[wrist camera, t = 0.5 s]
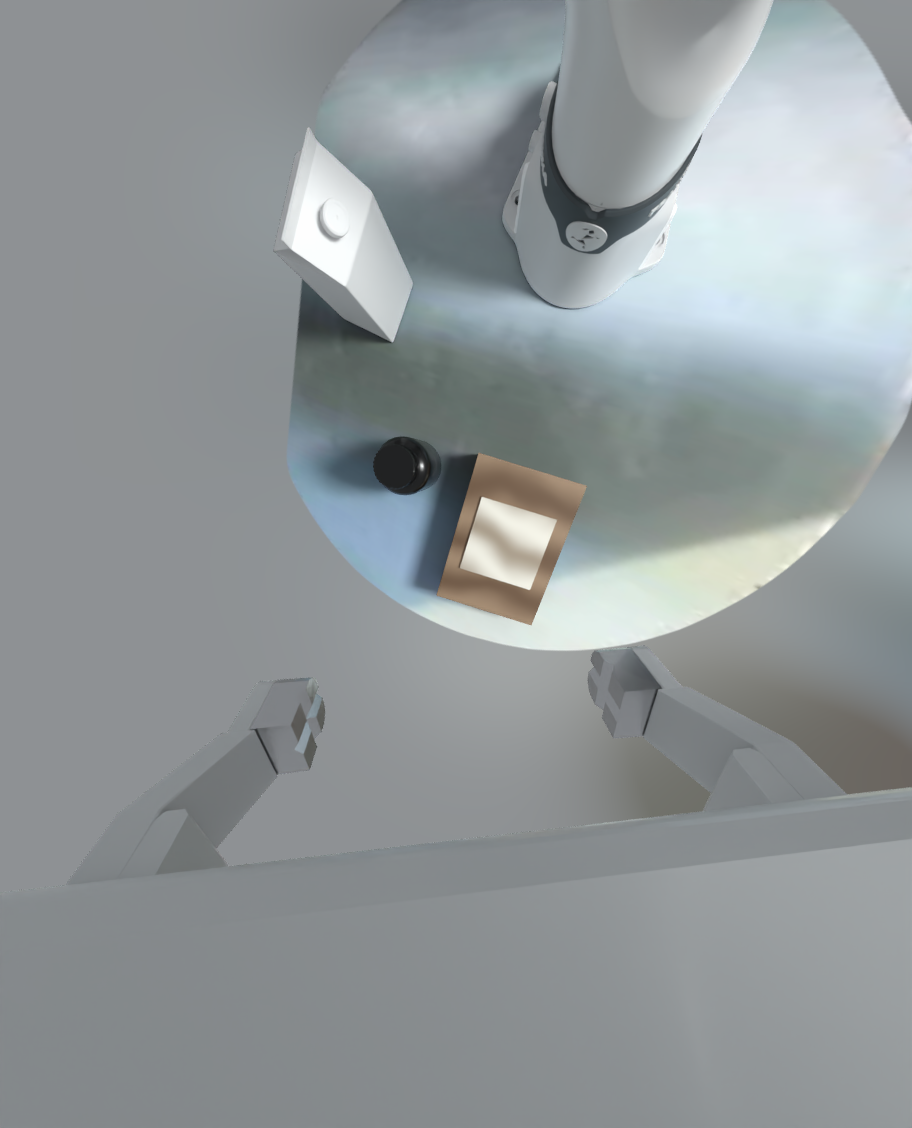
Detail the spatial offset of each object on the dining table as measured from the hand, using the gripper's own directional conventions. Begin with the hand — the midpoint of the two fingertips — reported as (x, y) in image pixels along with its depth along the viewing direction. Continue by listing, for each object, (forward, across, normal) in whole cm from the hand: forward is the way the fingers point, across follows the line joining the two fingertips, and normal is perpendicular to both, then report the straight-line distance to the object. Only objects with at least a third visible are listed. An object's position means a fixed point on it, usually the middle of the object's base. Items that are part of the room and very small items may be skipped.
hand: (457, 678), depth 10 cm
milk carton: (+48, +6, -17) cm, 51 cm away
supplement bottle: (+43, +2, +2) cm, 43 cm away
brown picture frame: (+38, -10, +12) cm, 41 cm away
